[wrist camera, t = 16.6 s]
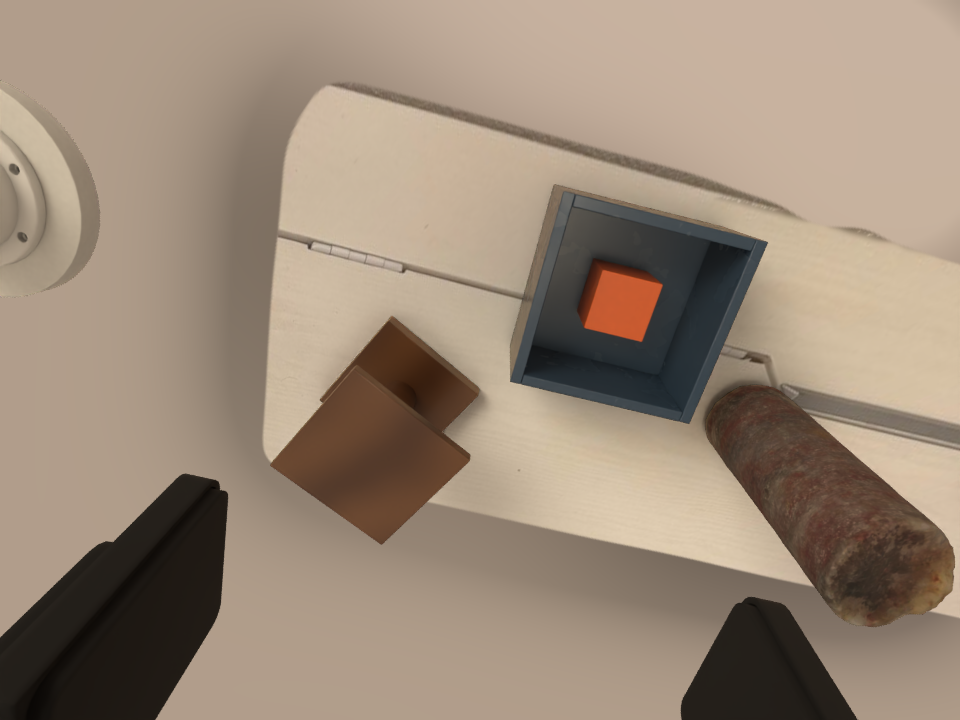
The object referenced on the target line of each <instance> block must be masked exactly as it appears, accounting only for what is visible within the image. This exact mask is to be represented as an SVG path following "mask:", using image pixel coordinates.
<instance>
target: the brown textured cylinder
mask: <svg viewBox="0 0 960 720" xmlns="http://www.w3.org/2000/svg"><path fill="white" fill-rule="evenodd" d="M706 434H707V437H708V440H709V441H710V443H711V444H712V445H713V447H714V448H715V450H716V451H717V452H718V454H719V455H720V457H721V458H722V460H723V461H724V463H725V464H726V466H727V467H728V468H729V469H730V471H731V472H732V473H733V475H734V476H735V477H736V479H737V480H738V481H739V483H740V484H741V485H742V487H743V488H744V490H745V491H746V492H747V494H748V495H749V496H750V498H751V499H752V500H753V502H754V503H755V505H756V506H757V507H758V509H759V510H760V511H761V513H762V514H763V515H764V517H765V518H766V520H767V521H768V523H769V524H770V525H771V526H772V528H773V529H774V530H775V532H776V533H777V535H778V536H779V538H780V539H781V541H782V543H783V544H784V545H785V547H786V548H787V549H788V550H789V552H790V553H791V554H792V556H793V557H794V558H795V560H796V561H797V563H798V564H799V565H800V567H801V568H802V570H803V572H804V573H805V574H806V576H807V577H808V579H809V580H810V581H811V583H812V584H813V585H814V586H815V588H816V589H817V591H818V592H819V593H820V595H821V596H822V598H823V599H824V600H825V601H826V603H827V604H828V605H829V607H830V608H831V609H832V611H833V612H834V613H835V614H836V615H837V616H838V617H840V618H841V619H843V620H844V621H846V622H848V623H850V624H853V625H856V626H868V627H877V626H882V625H887V624H890V623H891V622H893V621H895V620H897V619H898V618H901V617H903V616H904V615H907V614H922V615H923V614H924V613H925V612H926V611H929V610H931V609H933V608H935V607H937V605H938V604H939V603H940V602H942V601H943V599H944V597H945V596H946V595H948V594H949V593H951V592H952V587H953V579H954V575H953V570H954V568H955V556H954V553H953V547H952V546H951V545H950V543H949V541H948V539H947V537H946V536H945V534H944V533H943V532H942V531H941V530H940V529H939V528H938V527H937V526H936V525H935V524H934V523H933V522H932V521H930V520H929V519H928V518H927V517H926V516H925V515H924V514H922V513H921V512H920V511H919V510H917V509H916V508H915V507H914V506H912V505H911V504H910V503H909V502H908V501H906V500H905V499H904V498H903V497H902V496H900V495H899V494H898V493H897V492H896V491H895V490H894V489H893V488H892V487H891V486H890V485H888V484H887V483H886V482H885V481H884V480H883V479H882V478H880V477H879V476H878V475H877V474H876V473H875V472H873V471H872V470H871V469H870V468H869V467H867V466H866V465H865V464H864V463H863V462H862V461H860V460H859V459H858V458H857V457H856V456H855V455H854V454H853V453H851V452H850V451H849V450H848V449H847V448H845V447H844V446H843V445H842V444H841V443H840V442H839V441H837V440H836V439H835V438H834V437H833V436H832V435H831V434H830V433H829V432H827V431H826V430H825V429H824V428H823V427H822V426H821V425H819V424H818V423H817V422H816V421H815V420H814V419H813V418H812V417H811V416H809V415H808V414H807V413H806V412H805V411H804V410H802V409H801V408H800V407H799V406H798V405H797V404H796V403H794V402H793V401H792V400H791V399H790V398H788V397H787V396H786V395H785V394H784V393H782V392H781V391H779V390H777V389H775V388H773V387H769V386H763V385H748V386H741V387H739V388H737V389H734V390H733V391H732V392H730V393H728V394H727V395H726V396H724V397H723V398H722V399H720V400H719V401H718V402H717V403H715V405H714V407H713V408H712V410H711V412H710V413H709V415H708V417H707V419H706Z"/></svg>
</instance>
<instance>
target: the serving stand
mask: <svg viewBox="0 0 960 720" xmlns="http://www.w3.org/2000/svg"><path fill="white" fill-rule="evenodd" d="M478 394H479V388H478V387H477V386H476V385H475V384H474V383H472V382H471V381H470V380H469V379H468V378H466V377H465V376H464V375H463V374H462V373H460V372H459V371H458V370H457V369H456V368H454V367H453V366H452V365H451V364H450V363H448V362H447V361H446V360H445V359H444V358H442V357H441V356H440V355H439V354H437V353H436V352H435V351H434V350H433V349H431V348H430V347H429V346H428V345H427V344H425V343H424V342H423V341H422V340H421V339H419V338H418V337H417V336H416V335H415V334H413V333H412V332H411V331H410V330H409V329H407V328H406V327H405V326H404V325H403V324H401V323H400V322H399V321H398V320H397V319H395V318H394V317H393V316H391V317H390V318H389V320H388V321H387V322H386V323H385V324H384V325H383V326H382V328H381V329H380V330H379V331H378V332H377V333H376V335H375V336H374V337H373V338H372V339H371V340H370V342H369V343H368V344H367V345H366V346H365V347H364V349H363V350H362V351H361V352H360V353H359V354H358V355H357V357H356V358H355V359H354V360H353V361H352V362H351V364H350V365H349V366H348V367H347V368H346V369H345V371H344V372H343V373H342V374H341V375H340V376H339V378H338V379H337V380H336V381H335V382H334V383H333V384H332V386H331V387H330V388H329V389H328V390H327V391H326V393H325V394H324V395H323V396H322V398H321V399H320V401H321V402H323V404H322V405H321V406H320V407H319V408H318V410H317V411H316V412H315V413H314V414H313V415H312V417H311V418H310V419H309V420H308V421H307V422H306V423H305V425H304V426H303V427H302V428H301V429H300V430H299V431H298V433H297V434H296V435H295V436H294V437H293V438H292V440H291V441H290V442H289V443H288V444H287V445H286V446H285V448H284V449H283V450H282V451H281V452H280V453H279V455H278V456H277V457H276V458H275V459H274V460H273V462H272V463H271V465H270V466H271V467H273V468H274V469H276V470H277V471H278V472H280V473H281V474H283V475H284V476H286V477H287V478H288V479H290V480H291V481H293V482H294V483H295V484H297V485H298V486H300V487H301V488H302V489H304V490H305V491H307V492H308V493H310V494H311V495H312V496H314V497H315V498H317V499H318V500H319V501H321V502H322V503H323V504H325V505H326V506H328V507H329V508H331V509H332V510H333V511H335V512H336V513H338V514H339V515H340V516H342V517H343V518H345V519H346V520H347V521H349V522H350V523H352V524H353V525H354V526H356V527H357V528H359V529H360V530H361V531H363V532H364V533H366V534H367V535H368V536H370V537H371V538H373V539H374V540H376V541H377V542H378V543H380V544H383V543H384V542H385V541H386V540H387V539H388V538H389V537H390V536H391V535H392V534H393V533H395V532H396V531H397V530H398V529H399V528H400V527H401V526H402V525H403V524H404V523H405V522H406V521H407V520H408V519H409V518H410V517H411V516H412V515H414V514H415V513H416V512H417V511H418V510H419V509H420V508H421V507H422V506H423V505H424V504H425V503H426V502H427V501H428V500H429V499H430V498H431V497H432V496H433V495H435V494H436V493H437V492H438V491H439V490H440V489H441V488H442V487H443V486H444V485H445V484H446V483H447V482H448V481H449V480H450V479H451V478H452V477H453V476H454V475H455V474H457V473H458V472H459V471H460V470H461V469H462V468H463V467H464V466H465V465H466V464H467V463H468V462H469V461H470V456H471V455H470V454H469V453H468V452H466V451H465V450H464V449H463V448H461V447H460V446H459V445H458V444H456V443H455V442H454V441H453V440H451V439H450V438H449V437H447V436H446V435H445V434H444V433H442V431H443V430H444V429H445V428H446V427H447V426H448V425H449V424H450V423H451V422H452V421H453V420H454V419H455V418H456V417H457V416H458V415H459V414H460V413H461V412H462V411H463V410H464V409H465V408H466V407H467V406H468V405H469V404H470V403H471V402H472V401H473V400H474V399H475V398H476V397H477V396H478Z"/></svg>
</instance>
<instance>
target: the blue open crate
mask: <svg viewBox="0 0 960 720" xmlns="http://www.w3.org/2000/svg"><path fill="white" fill-rule="evenodd" d="M767 244H768V242H766V241H763V240H760V239H757V238H754V237H751V236H749V235H746V234H743V233H740V232H737V231H734V230H731V229H728V228H725V227H722V226H718V225H714V224H711V223H707V222H703V221H699V220H695V219H691V218H687V217H683V216H679V215H675V214H671V213H667V212H663V211H659V210H655V209H651V208H647V207H643V206H639V205H635V204H631V203H627V202H623V201H619V200H615V199H611V198H607V197H603V196H599V195H595V194H591V193H587V192H583V191H579V190H575V189H571V188H567V187H563V186H559V185H555V184H554V186H553V189H552V193H551V197H550V200H549V204H548V208H547V211H546V215H545V219H544V222H543V226H542V230H541V233H540V237H539V241H538V244H537V248H536V252H535V255H534V259H533V263H532V266H531V270H530V274H529V277H528V281H527V285H526V288H525V292H524V296H523V299H522V303H521V307H520V310H519V314H518V318H517V321H516V325H515V329H514V332H513V336H512V340H511V343H510V382H514V383H518V384H522V385H527V386H531V387H535V388H539V389H543V390H548V391H552V392H556V393H560V394H565V395H569V396H573V397H577V398H582V399H586V400H590V401H594V402H599V403H603V404H607V405H611V406H616V407H620V408H624V409H628V410H633V411H637V412H641V413H645V414H649V415H654V416H658V417H662V418H666V419H671V420H675V421H680V422H684V423H688V424H689V423H690V421H691V419H692V416H693V414H694V412H695V409H696V407H697V405H698V403H699V400H700V398H701V396H702V393H703V391H704V389H705V386H706V384H707V382H708V380H709V377H710V375H711V373H712V370H713V368H714V366H715V363H716V361H717V359H718V357H719V354H720V352H721V350H722V347H723V345H724V343H725V340H726V338H727V336H728V333H729V331H730V329H731V327H732V324H733V322H734V320H735V317H736V315H737V313H738V310H739V308H740V306H741V304H742V301H743V299H744V297H745V294H746V292H747V290H748V287H749V285H750V283H751V281H752V278H753V276H754V274H755V271H756V269H757V267H758V264H759V262H760V260H761V257H762V255H763V253H764V251H765V248H766V246H767ZM594 258H595V259H599V260H603V261H607V262H611V263H615V264H620V265H624V266H628V267H632V268H636V269H640V270H644V271H648V272H649V273H650V274H651V275H652V276H654V277H655V278H656V279H657V280H658V281H659V282H661V283H662V284H663V287H662V289H661V292H660V295H659V297H658V300H657V303H656V305H655V308H654V311H653V314H652V316H651V319H650V322H649V324H648V327H647V330H646V332H645V335H644V338H643V340H642V342H640V341H636V340H632V339H628V338H623V337H619V336H615V335H611V334H607V333H603V332H598V331H594V330H590V329H586V328H584V327H583V324H582V322H581V320H580V317H579V315H578V313H577V309H578V306H579V303H580V299H581V296H582V293H583V290H584V287H585V283H586V280H587V277H588V274H589V271H590V268H591V264H592V261H593V259H594Z"/></svg>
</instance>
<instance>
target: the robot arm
mask: <svg viewBox="0 0 960 720" xmlns="http://www.w3.org/2000/svg"><path fill="white" fill-rule="evenodd" d="M45 223H46V206H45V199H44V195H43V191H42V188H41V184H40V182H39V180H38V178H37V176H36V173H35V171H34V169H33V168H32V166H31V164H30V163H29V161H28V160H27V158H26V157H25V155H24V154H23V153H22V152H21V150H20V149H19V148H18V147H17V146H16V144H15V143H14V142H13V141H12V140H11V139H10V138H8V137H7V136H6V135H5V134H4V133H3V132H2V131H1V130H0V266H5V265H9V264H13V263H16V262H18V261H20V260H22V259H24V258H26V257H27V256H28V255H29V254H30V253H32V252H33V251H34V250H35V248H36V247H37V245H38V244H39V242H40V240H41V238H42V235H43V232H44V229H45ZM227 506H228V493H227V492H226V491H222V490H220V485H219V482H218V481H216V480H213V479H208V478H203V477H199V476H194V475H190V474H182V475H181V476H179V477H178V478H177V479H176V480H175V481H174V482H173V483H172V484H171V485H170V486H169V487H168V488H167V489H166V490H165V491H164V492H163V493H162V494H161V495H160V496H159V497H158V498H157V499H156V500H155V501H154V502H153V503H152V504H151V505H150V506H149V507H148V508H147V509H146V510H145V511H144V512H143V513H142V514H141V515H140V516H139V517H138V518H137V519H136V520H135V521H134V522H133V523H132V524H131V525H130V526H129V527H128V528H127V529H126V530H125V531H124V532H123V533H122V534H121V535H120V536H119V537H118V538H117V539H116V540H115V541H114V542H107V541H106V542H103V543H101V544H98V545H97V546H96V547H94V548H93V549H92V550H91V551H89V553H87V554H86V555H85V556H84V557H83V558H82V559H81V560H80V561H79V562H78V563H77V564H76V565H75V566H74V567H73V568H72V569H71V570H70V571H69V572H68V573H67V574H66V575H64V576H63V578H61V580H59V581H58V582H57V583H56V584H55V585H54V586H53V587H52V588H51V589H50V590H49V591H48V592H47V593H46V594H45V595H44V596H43V597H42V598H41V599H40V600H39V601H38V602H36V603H35V604H34V605H33V606H32V607H31V608H30V609H29V610H28V611H27V612H26V613H25V614H24V615H23V616H22V617H21V618H20V619H19V620H18V621H17V622H16V623H15V624H14V625H13V626H12V627H11V628H10V629H9V630H7V631H6V632H5V633H4V634H3V636H1V637H0V720H155V719H156V718H157V716H158V714H159V713H160V711H161V710H162V708H163V706H164V705H165V703H166V701H167V700H168V698H169V696H170V695H171V693H172V691H173V690H174V688H175V686H176V685H177V683H178V682H179V680H180V678H181V677H182V675H183V674H184V672H185V670H186V669H187V667H188V665H189V664H190V662H191V661H192V659H193V657H194V655H195V654H196V652H197V651H198V649H199V647H200V646H201V644H202V642H203V641H204V639H205V638H206V636H207V634H208V633H209V631H210V629H211V628H212V626H213V624H214V622H215V620H216V618H217V615H218V612H219V609H220V605H221V594H222V593H221V592H222V579H223V564H224V563H223V562H224V550H225V535H226V521H227ZM681 718H682V720H857V718H856V716H855V715H854V713H853V712H852V710H851V708H850V707H849V705H848V704H847V702H846V700H845V699H844V697H843V696H842V694H841V693H840V691H839V689H838V688H837V686H836V685H835V683H834V682H833V680H832V678H831V677H830V675H829V673H828V672H827V670H826V669H825V667H824V665H823V664H822V662H821V661H820V659H819V658H818V656H817V654H816V653H815V651H814V649H813V648H812V646H811V645H810V643H809V641H808V640H807V638H806V637H805V635H804V634H803V632H802V630H801V629H800V627H799V625H798V624H797V622H796V621H795V619H794V617H793V616H792V614H791V613H790V611H789V610H788V609H787V607H786V606H785V605H783V604H781V603H777V602H773V601H768V600H763V599H759V598H755V597H748V598H746V599H745V600H744V601H743V602H742V603H737V604H736V605H735V606H734V607H733V609H732V611H731V613H730V614H729V616H728V618H727V620H726V621H725V624H724V625H723V627H722V629H721V630H720V632H719V634H718V636H717V638H716V640H715V641H714V643H713V645H712V647H711V649H710V651H709V652H708V654H707V656H706V658H705V659H704V661H703V663H702V665H701V667H700V669H699V670H698V672H697V674H696V676H695V677H694V679H693V681H692V683H691V685H690V687H689V688H688V690H687V692H686V694H685V696H684V697H683V700H682V704H681Z"/></svg>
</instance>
